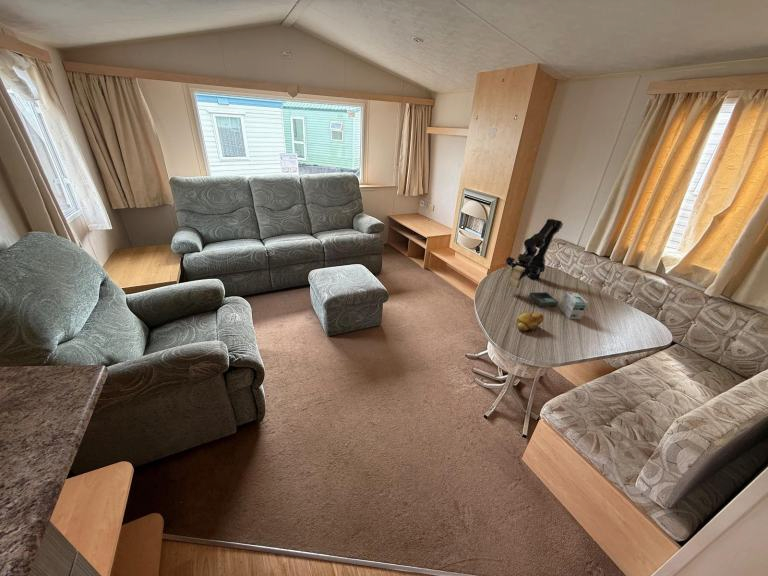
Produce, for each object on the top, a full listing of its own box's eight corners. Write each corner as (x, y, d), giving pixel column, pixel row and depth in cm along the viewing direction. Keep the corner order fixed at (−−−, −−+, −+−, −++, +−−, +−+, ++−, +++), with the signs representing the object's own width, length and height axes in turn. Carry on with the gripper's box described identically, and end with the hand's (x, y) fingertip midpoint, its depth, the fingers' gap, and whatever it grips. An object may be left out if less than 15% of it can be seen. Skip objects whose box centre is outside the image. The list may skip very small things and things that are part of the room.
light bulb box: (581, 320, 164) (588, 302, 159) (568, 319, 164) (575, 301, 159) (570, 309, 173) (577, 292, 168) (558, 308, 173) (565, 291, 168)
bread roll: (524, 335, 148) (529, 321, 144) (508, 324, 156) (513, 311, 152) (541, 328, 154) (547, 315, 150) (525, 318, 161) (530, 305, 158)
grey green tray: (528, 297, 182) (529, 292, 181) (545, 296, 184) (546, 292, 183) (539, 307, 173) (541, 302, 171) (556, 306, 174) (558, 302, 173)
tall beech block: (511, 284, 185) (516, 265, 179) (518, 287, 183) (524, 268, 177) (507, 286, 182) (513, 267, 176) (515, 289, 180) (521, 270, 174)
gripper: (511, 243, 179) (498, 266, 178) (544, 254, 168) (530, 277, 166) (513, 253, 188) (501, 274, 186) (545, 263, 177) (531, 286, 175)
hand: (515, 277), depth 178 cm, fingers closed on tall beech block, 4 cm apart
